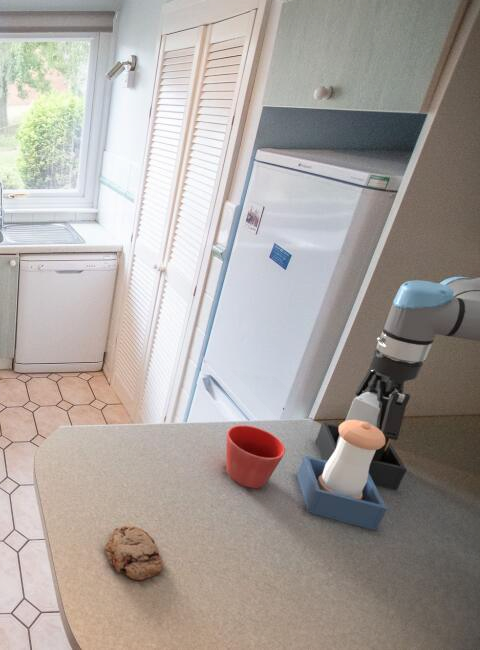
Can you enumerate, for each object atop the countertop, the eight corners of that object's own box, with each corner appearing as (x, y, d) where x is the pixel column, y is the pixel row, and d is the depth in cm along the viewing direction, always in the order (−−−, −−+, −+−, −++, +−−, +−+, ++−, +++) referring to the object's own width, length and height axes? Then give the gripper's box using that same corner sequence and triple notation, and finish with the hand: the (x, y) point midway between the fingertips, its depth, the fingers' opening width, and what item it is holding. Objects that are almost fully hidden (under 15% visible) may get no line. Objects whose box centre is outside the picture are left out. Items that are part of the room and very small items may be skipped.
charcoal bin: (377, 454, 107) (385, 435, 104) (396, 490, 97) (406, 469, 94) (315, 441, 111) (322, 422, 109) (328, 474, 101) (336, 453, 99)
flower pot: (225, 489, 97) (236, 453, 93) (213, 455, 107) (222, 421, 103) (281, 498, 95) (294, 462, 91) (263, 462, 105) (274, 428, 101)
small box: (367, 463, 98) (388, 413, 93) (334, 445, 103) (353, 397, 98) (386, 451, 101) (408, 402, 96) (354, 435, 106) (373, 387, 101)
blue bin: (358, 491, 97) (367, 469, 94) (376, 531, 87) (387, 508, 85) (296, 475, 101) (304, 455, 98) (307, 512, 91) (316, 490, 89)
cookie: (155, 534, 87) (157, 523, 86) (166, 586, 77) (169, 574, 76) (101, 527, 89) (103, 516, 87) (106, 577, 79) (108, 565, 78)
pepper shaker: (327, 481, 98) (357, 408, 90) (365, 506, 92) (400, 429, 84) (305, 491, 95) (333, 416, 88) (342, 517, 89) (376, 439, 82)
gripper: (359, 330, 103) (329, 410, 112) (396, 378, 85) (358, 470, 93) (400, 335, 101) (367, 418, 109) (449, 386, 82) (404, 481, 90)
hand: (363, 442), depth 101 cm, fingers closed on small box, 10 cm apart
